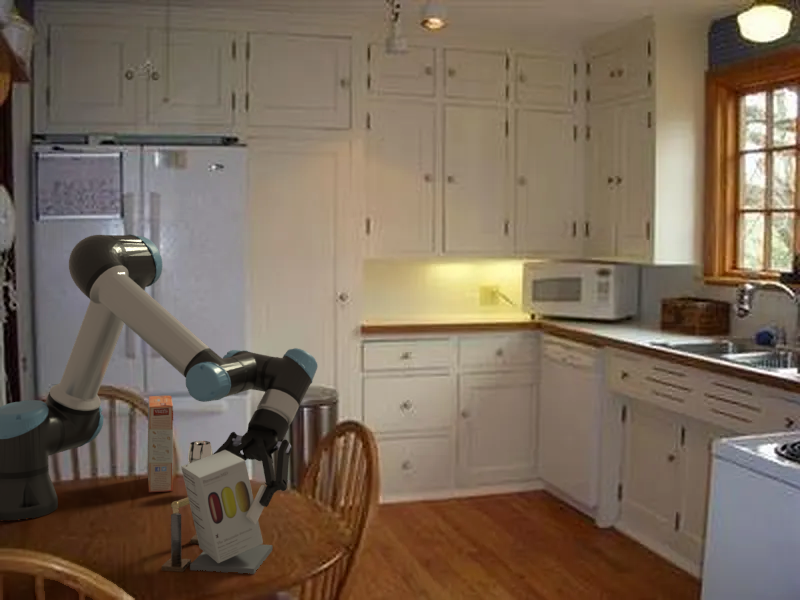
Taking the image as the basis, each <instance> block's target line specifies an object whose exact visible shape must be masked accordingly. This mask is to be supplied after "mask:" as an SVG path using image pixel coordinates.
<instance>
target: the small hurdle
mask: <svg viewBox="0 0 800 600" xmlns="http://www.w3.org/2000/svg"><path fill="white" fill-rule="evenodd" d="M188 505H190V503H189V499H188V496H187V497H185V498H181V499H178V500H175V501H172V503H171V505H170V507H171V509H172V514H171V515H170V535H171V536H170V543H171V544H170V545H171V547H170V554H171V555H170V558H169V559H167V561H165V562H164V563H163V564H162V565H161V571H166V572H167V571H168V572H180V573H183V572H184V571H185V570H186V569H187V568H188V567H190V564H191V563H192V559H191V558H182V514H181V512H180V511H179V509H180V508H182V507H185V506H188ZM190 544H194V545H195V544H196V545H199V542H198V538H197V534H196V533H195V534H194V535H193V536H192V537H191V538H190Z"/></svg>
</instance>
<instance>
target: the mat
mask: <svg viewBox="0 0 800 600" xmlns="http://www.w3.org/2000/svg"><path fill="white" fill-rule="evenodd" d="M272 551H273V544H263V543H262V544H260V545H258V546H256V547H253V548H251V549H249V550H247V551H245V552H242V553H240V554H238V555H236V556H234V557H231V558H229V559H227V560H225V561H222V562H220V563H217V562H216V561H215V560H214V559H213V558H211V557H210V556H209V555H208V554H207V553H205V552H204V551H203V550H202V552H201V553H200V554H199V555H198V556H197V557H196V558H195V559H194V560H193V561H191V564H190V565H189V571H197V570H198V571H199V572H213V571H216V573H228V572H238V573H237V574H243V573H248V574H247V575H255V573H256V572H257V571H258V570H257V569H260V567H261V566H262V565H263V563H264V562H263V561H266V559H267V558H268V557H269V555H270V554H271V553H272ZM260 565H261V566H260ZM200 570H201V571H200ZM202 570H203V571H202ZM205 570H206V571H205ZM256 570H257V571H256ZM198 571H197V572H198ZM220 571H221V572H220ZM249 573H250V574H249Z"/></svg>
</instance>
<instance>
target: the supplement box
mask: <svg viewBox="0 0 800 600" xmlns="http://www.w3.org/2000/svg"><path fill="white" fill-rule="evenodd" d="M246 463H247V462H246V461H245V460H244V459H242V458H240V457H238V456H236V455H234V454H232V453H231V452H229V451H227V450H223V451H221V452H218V453H216V454H214V453H213V455H211V456H208V457H205V458H203V459H200V460H197V461H195V462H192V463H189V462H188V463H187V464H184V465H181V467H180V468H181V472H182V476H183V477H182V478H183V481H184V484H185V485H184V486H185V490H186V494H187V497H188V499H189V503H190V504H189V507H190V511H191V516H192V519H193V525H194V529H195V535H196V534H197V538H198V542H199V544H198V547H199V549H200V550H202V552H203V551H204V552H205V553H207V554H208V555H209V556H210V557H211V558H213V559H214V560H215V561H216V562H217V563H220V562H222V561H225V560H227V559H229V558H231V557H234V556H236V555H238V554H240V553H242V552H245V551H247V550H249V549H251V548H253V547H256V546H258V545H260V544H262V545H263V544H264V542H263V541H264V540H263V536H262V531H261V528H260V523H259V520H258V521H257V523H256V524H253V523H252V522H251V521H250V520H249V519H248V518H247V517H246V515H247V513H248V511H249V509H250V507H251V505H252V503H253V501H254V499H255V498H254V495H253V491H252V485H251V482H250V477H249V472H248V468H247V464H246Z"/></svg>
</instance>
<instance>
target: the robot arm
mask: <svg viewBox="0 0 800 600" xmlns="http://www.w3.org/2000/svg"><path fill="white" fill-rule="evenodd" d="M68 269H69V273H70V277H71V279H72V281H73V283H74V284H75V286H76V287H77V288H78V289H79V291H81V293H82V294H83V295H85V297H87V298H88V299H89V300H90V301H89V303H88V307H87V309H86V311H85V314H84V317H83V319H82V322H81V325H80V328H79V330H78V333H77V336H76V338H75V341H74V343H73V347H72V349H71V352H70V355H69V358H68V360H67V362H66V365H65V369H64V372H63V374H62V377H61V379H60V381H59V383H57V384H54V385H53V386H51V387H50V389H49V392H48V393H47V394H48V395H47V398H46V399H45V401H43V400H35V399H30V400H29V399H27V400H21V401H15V402H14V401H13V402H10V403H6V404H3V405H1V406H0V520H18V519H26V518H32V519H36V518H35V517H37V518H40V517H44V516H46V515H49V514H51V513H53V512H55V510H57V509H58V507H59V506H58V504H59V503H58V502H59V500H58V499H59V498H58V494H57V493H56V490H55V486H54V484H53V482H52V478H51V476H50V472H49V468H50V467H49V456H52V455H55V454H56V455H57V454H59V453H61V452H66V451H69V450H72V449H78V448H81V447H83V446H85V445H86V444H88V443H91V442H92V441H93V440H95V439H96V438H97V437H98V435H99V434H100V433H101V431H102V429H103V424H104V418H105V417H104V415H103V414H102V412H103V407H102V405H101V404H102V401H101V398H100V396H99V395H98V393H99V391H100V388H101V385H102V383H103V380H104V378H105V376H106V372H107V370H108V367H109V365H110V362H111V360H112V357H113V354H114V351H115V348H116V346H117V344H118V341H119V338H120V335H121V333H122V330H123V328H124V325H126V326H127V327H128V328H129V329H130V330H132V331H133V332H134V333H135V335H137V336H138V337H139V338H140V339H142V341H144V342H145V343H146V344H147V345H148V346H149V347H151V348H152V349H153V350H154V351H155V352H156V353H157V354H158V355H160V356H161V357H162V358H163V360H165V361H166V362H167V363H168V364H170V365H171V366H172V367H173V368H174V369H175V370H177V371H178V372H179V373H180V374H181V375H182V376H183V377H184V378H185V386H186V387H185V388H187V391H188V394H189V395H190V396H191V397H192V398H193V399H194V400H196V401H198V402H212V401H219V400H221V399H224V398H226V397H229V396H233V395H236V394H237V395H238V394H239V393H244V392H247V391H249V390H253V391H259V392H263V393H264V394H263V396H262V397H261V399H260V400H259V403H258V405H257V406H256V410H255V411H254V412H253V414H252V416H251V418H250V420H249V422H248V424H247V429H246V430H247V431H246V432H245V433H244V434H243V435H241V434H240V435H239V434H237V433H236V432H235V431H231V432H230V434H229V435H228V437H227V439H226V440H225V441H224V442H223V444H221V446H220V447H219V448H218V449H217V450H215V452H214V453H213V454H216V453H218V452H221V451H223V450H227V451H229V452H231V453H232V454H234V455H236V456H238V457H240V458H242V459H244V460H245V462H246V461H247V460H250V461H253V460H255V461H257V462H261V463H262V464H261V465H262V469H263V473H264V474H263V475H264V478H265V481H264V484H261V486H260V487H259V489H258V491H257V493H256V495H255V498H253V499H254V501H253V503H252V505H251V507H250V509H249V511H248V513H247V515H246V517H247V518H248V519H249V520H250V521H251V522H252V523H253V524H256V523H257V521H258V522H259V518H260V516H261V515H262V513H263V510H264V508H267V507H268V506H269V505H270V503H271V500H272V499H273V496H274V495H275V493H276V492H278V491H281V492H285V491H286V490H287V488H288V480H289V479H288V477H289V463H290V456H291V453H292V451H293V446H292V444H291V443H290V442H289V441H288V440H287V439H285V437H286V434H287V433H288V431H289V429H290V425H291V424H292V422H293V420H294V418H295V416H296V414H297V413H298V409H299V408H300V405H301V403H302V401H303V400H304V397H305V396H306V393H307V392H308V390H309V388H310V386H311V384H313V381H314V377H315V374H316V372H317V370H318V362H317V360H316V357H314V355H312V354H311V353H309V352H308V351H307V350H304V349H301V348H297V347H294V348H289V349H288V350H287V351H286V352H285V353H284V354H283V356H282V357H279V356H271V355H265V354H260V353H255V352H251V351H248V350H238V349H230V350H229V351H228V352H227V353H226V354H224V356H223V357H221V356H220V355H219V354H218V353H216V352H215V351H214V350H213V349H212V348H210V347H209V346H208V345H207V344H205V343H204V342H203V341H202V340H201V339H200V338H199V337H198V336H196V335H195V333H193V332H192V331H191V330H190V329H189V328H188V327H186V326H185V325H184V324H183V323H182V322H181V321H179V320H178V319H177V318H176V317H175V316H174V315H173V314H172V313H170V311H168V310H167V309H166V308H165V307H164V306H163V305H162V304H160V303H159V302H158V301H157V300H156V299H155V298H153V297H152V296H151V295H150V294H149V293H148V292H146V291H145V290H146V287H147V288H149V287H150V286H152V285H154V284H155V283H157V281H158V280H160V278H161V275H162V272H163V258H162V255H161V253H160V250H159V248H158V246H157V245H156V244H155V242H153V241H152V240H151V239H149V238H147V237H145V236H141V235H135V234H125V235H124V234H117V235H116V234H93V235H90V236H87V237H84V238H83V239H80V241H79V242H77V243H76V245H75V246H73V248H72V250H71V252H70V255H69V259H68ZM241 451H242V452H241ZM276 451H278V452H277V459H276V460H277V463H276V472H275V469H274V459H273V454H275V452H276ZM275 473H276V474H275ZM26 520H27V519H26ZM18 521H19V520H18Z"/></svg>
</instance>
